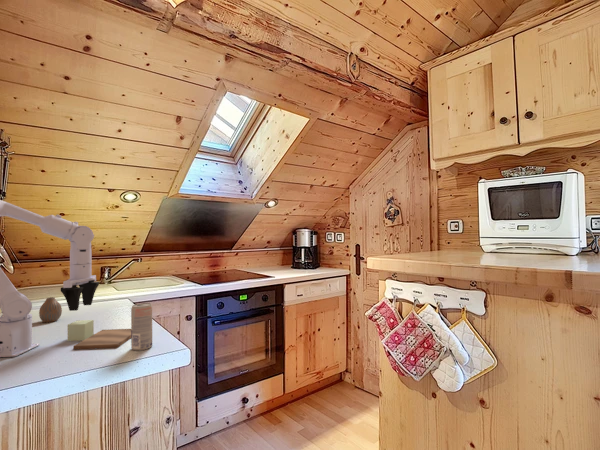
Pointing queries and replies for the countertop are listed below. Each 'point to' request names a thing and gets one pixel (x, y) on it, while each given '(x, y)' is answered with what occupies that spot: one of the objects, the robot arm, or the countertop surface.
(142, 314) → the energy drink
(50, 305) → the vase
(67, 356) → the countertop surface
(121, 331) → the walnut board
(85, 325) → the sage block
